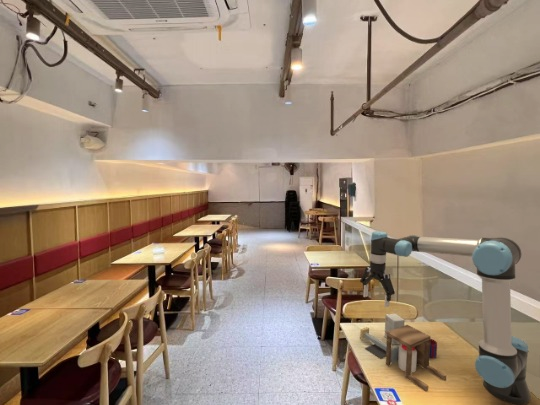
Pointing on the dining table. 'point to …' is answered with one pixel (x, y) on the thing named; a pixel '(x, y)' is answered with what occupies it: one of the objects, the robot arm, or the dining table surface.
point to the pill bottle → (403, 356)
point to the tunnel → (411, 339)
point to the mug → (433, 349)
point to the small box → (393, 325)
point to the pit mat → (376, 351)
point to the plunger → (380, 343)
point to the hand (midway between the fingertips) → (375, 301)
